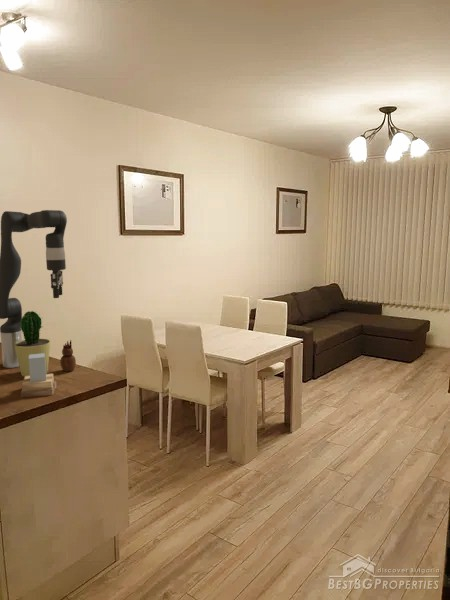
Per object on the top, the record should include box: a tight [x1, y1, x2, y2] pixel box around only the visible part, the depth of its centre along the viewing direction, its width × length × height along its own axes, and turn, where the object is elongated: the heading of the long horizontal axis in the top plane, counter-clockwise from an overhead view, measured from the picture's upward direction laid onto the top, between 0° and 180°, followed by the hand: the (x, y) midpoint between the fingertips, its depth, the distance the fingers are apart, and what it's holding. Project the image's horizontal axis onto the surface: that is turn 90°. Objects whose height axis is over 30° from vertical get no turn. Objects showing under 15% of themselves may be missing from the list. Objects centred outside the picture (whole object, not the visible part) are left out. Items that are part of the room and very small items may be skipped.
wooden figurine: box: [59, 339, 77, 373], centre depth 214 cm, size 7×6×15 cm
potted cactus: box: [14, 310, 51, 378], centre depth 209 cm, size 15×15×30 cm
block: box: [29, 353, 47, 382], centre depth 186 cm, size 6×6×10 cm
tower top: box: [21, 372, 55, 391], centre depth 188 cm, size 11×11×3 cm
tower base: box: [20, 379, 58, 398], centre depth 188 cm, size 12×12×3 cm
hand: (58, 296), depth 193 cm, fingers open, 8 cm apart
